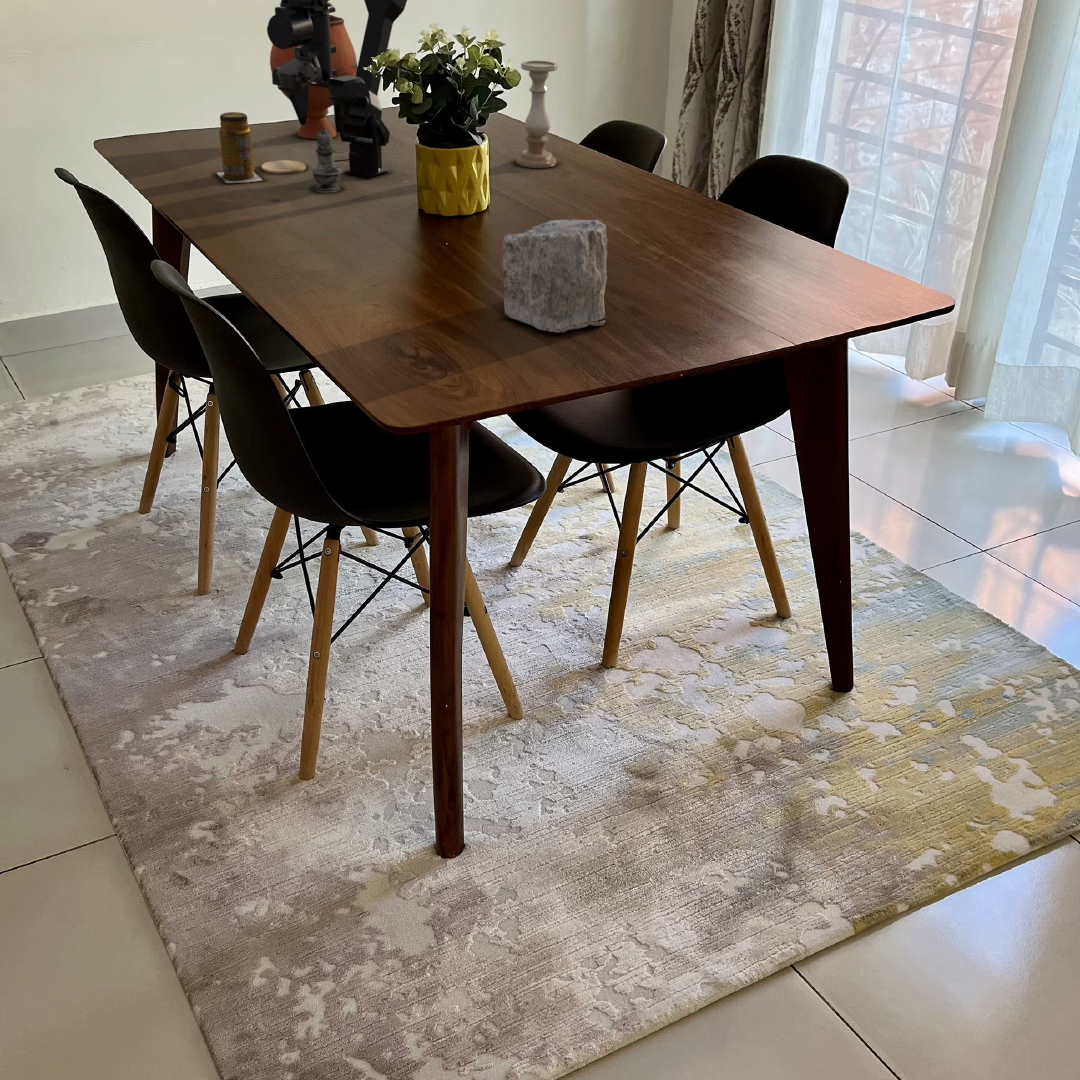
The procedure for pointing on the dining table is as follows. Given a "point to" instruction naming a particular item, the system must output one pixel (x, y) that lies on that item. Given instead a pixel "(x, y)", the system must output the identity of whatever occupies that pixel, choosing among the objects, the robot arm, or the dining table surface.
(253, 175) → the condiment
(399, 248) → the dining table surface
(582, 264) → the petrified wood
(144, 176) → the dining table surface
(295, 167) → the coaster
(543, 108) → the candle holder
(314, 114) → the goblet
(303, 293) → the dining table surface
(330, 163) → the grey carved stone piece
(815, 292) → the dining table surface
